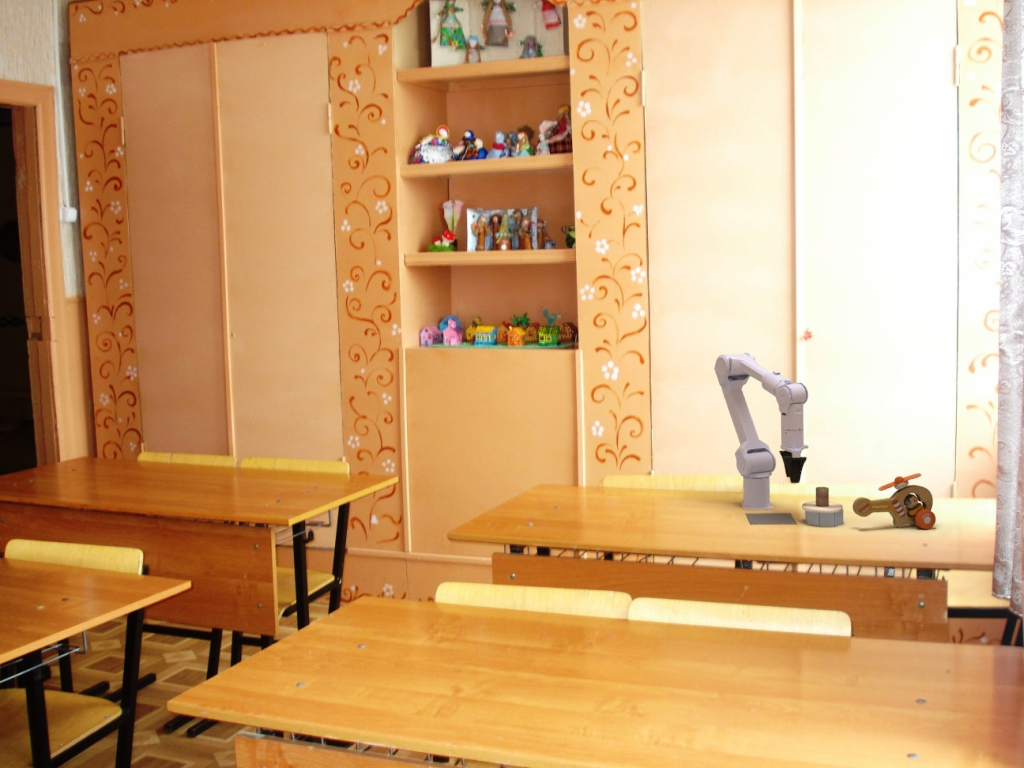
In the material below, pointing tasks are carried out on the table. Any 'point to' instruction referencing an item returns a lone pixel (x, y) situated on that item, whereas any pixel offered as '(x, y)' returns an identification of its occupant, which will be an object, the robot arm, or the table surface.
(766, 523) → the mat
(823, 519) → the bowl
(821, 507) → the lid
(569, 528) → the table surface
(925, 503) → the toy helicopter
